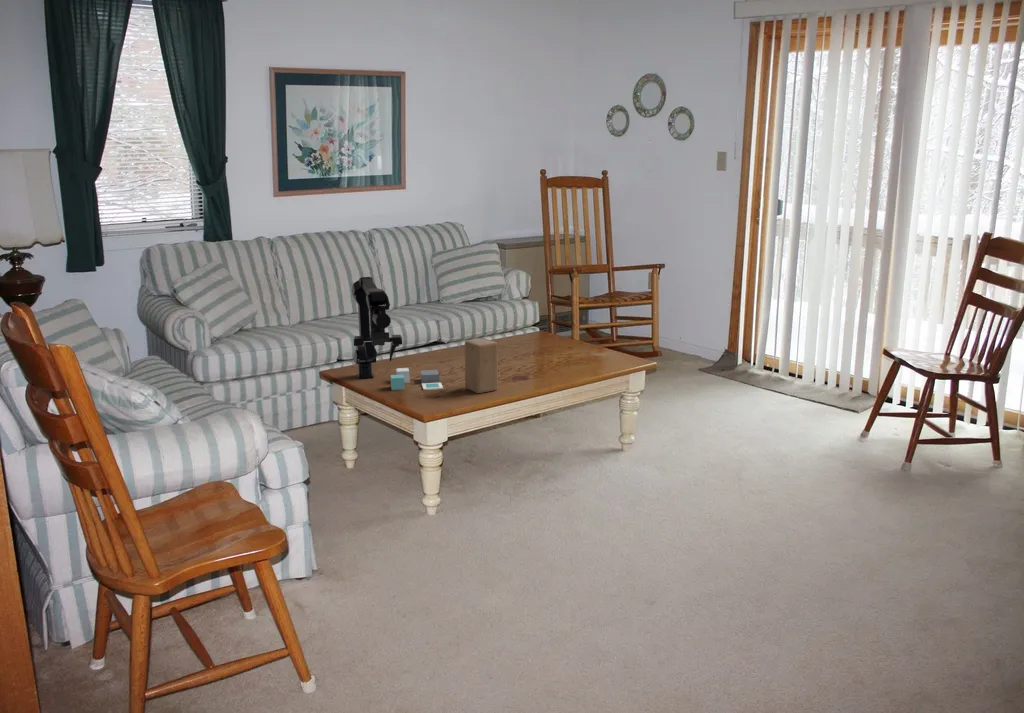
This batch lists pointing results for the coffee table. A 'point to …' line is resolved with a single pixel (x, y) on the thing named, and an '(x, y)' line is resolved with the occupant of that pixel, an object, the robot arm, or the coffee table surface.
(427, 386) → the tile
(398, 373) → the white block
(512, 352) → the coffee table surface
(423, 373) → the slate base block
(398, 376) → the teal block
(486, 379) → the wooden block
